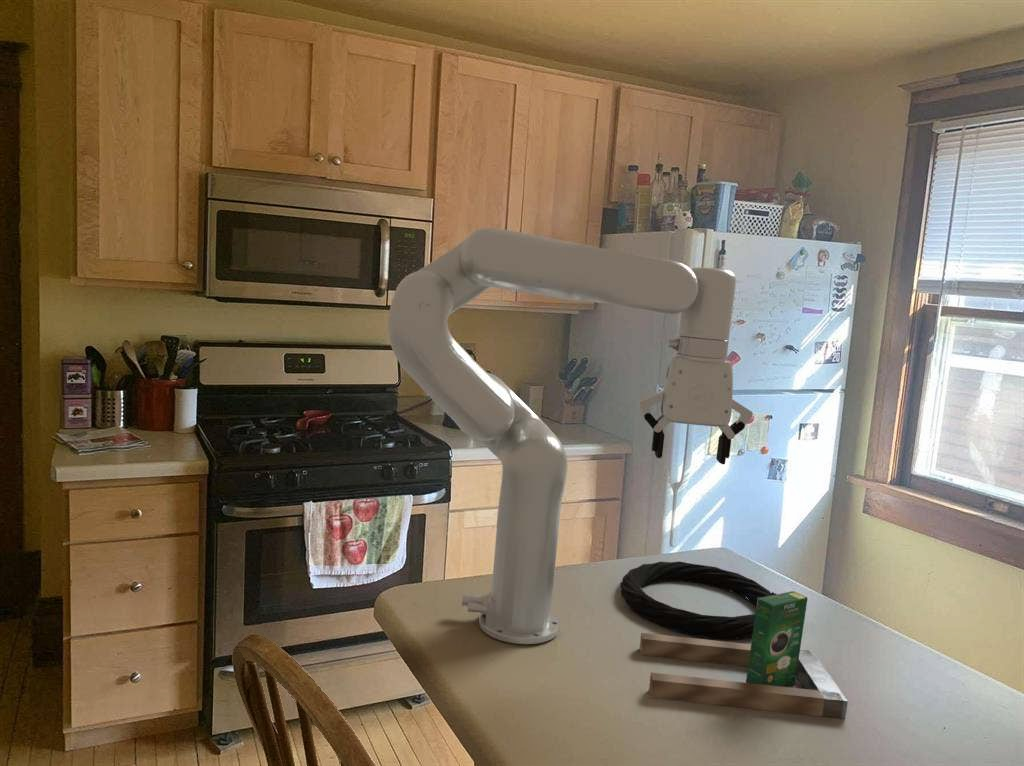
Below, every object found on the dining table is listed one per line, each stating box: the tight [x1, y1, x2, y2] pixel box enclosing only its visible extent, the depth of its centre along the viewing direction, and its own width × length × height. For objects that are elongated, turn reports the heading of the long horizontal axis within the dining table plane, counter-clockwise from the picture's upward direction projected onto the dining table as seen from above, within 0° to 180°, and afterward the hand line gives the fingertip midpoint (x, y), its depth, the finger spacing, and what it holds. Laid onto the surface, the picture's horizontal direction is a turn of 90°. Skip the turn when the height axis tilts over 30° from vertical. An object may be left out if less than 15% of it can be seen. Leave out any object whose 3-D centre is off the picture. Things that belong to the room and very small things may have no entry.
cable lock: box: [619, 561, 777, 640], centre depth 133 cm, size 28×4×30 cm
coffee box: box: [745, 591, 808, 687], centre depth 107 cm, size 8×3×13 cm, turn 123°
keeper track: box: [639, 632, 849, 720], centre depth 108 cm, size 26×14×2 cm, turn 87°
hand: (689, 459), depth 118 cm, fingers open, 9 cm apart
